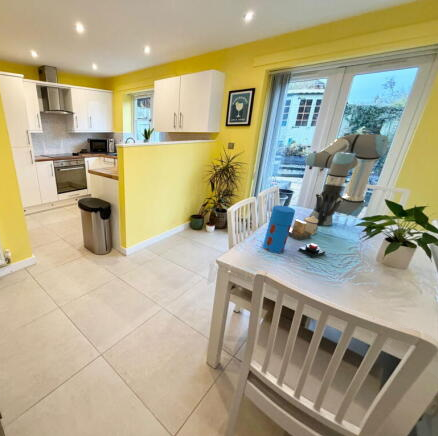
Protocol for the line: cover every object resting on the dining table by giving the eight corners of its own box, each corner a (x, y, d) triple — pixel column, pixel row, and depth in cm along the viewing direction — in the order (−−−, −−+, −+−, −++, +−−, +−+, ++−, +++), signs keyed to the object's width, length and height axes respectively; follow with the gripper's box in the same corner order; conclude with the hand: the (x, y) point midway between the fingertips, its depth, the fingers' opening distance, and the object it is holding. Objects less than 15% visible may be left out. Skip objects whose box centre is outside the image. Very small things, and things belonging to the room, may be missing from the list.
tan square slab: (292, 229, 152) (295, 219, 149) (294, 229, 152) (297, 219, 150) (301, 233, 146) (305, 223, 143) (304, 233, 146) (307, 223, 143)
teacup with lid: (315, 236, 150) (321, 220, 145) (299, 232, 155) (304, 216, 150) (317, 230, 158) (322, 215, 154) (301, 226, 163) (306, 211, 159)
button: (312, 245, 130) (313, 242, 130) (318, 248, 127) (319, 245, 126) (307, 246, 129) (308, 243, 128) (313, 249, 126) (314, 246, 125)
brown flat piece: (295, 230, 157) (296, 226, 156) (311, 237, 147) (312, 233, 146) (282, 233, 153) (284, 228, 152) (298, 240, 143) (299, 236, 142)
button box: (310, 248, 135) (312, 242, 133) (324, 255, 128) (326, 248, 126) (298, 250, 131) (300, 244, 130) (311, 258, 124) (314, 251, 123)
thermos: (259, 246, 135) (268, 206, 125) (270, 242, 140) (280, 204, 130) (276, 254, 126) (288, 213, 117) (287, 250, 131) (299, 210, 122)
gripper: (316, 181, 120) (303, 222, 130) (343, 188, 109) (327, 231, 119) (325, 180, 123) (312, 220, 132) (353, 186, 112) (336, 229, 121)
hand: (319, 225), depth 125 cm, fingers closed
